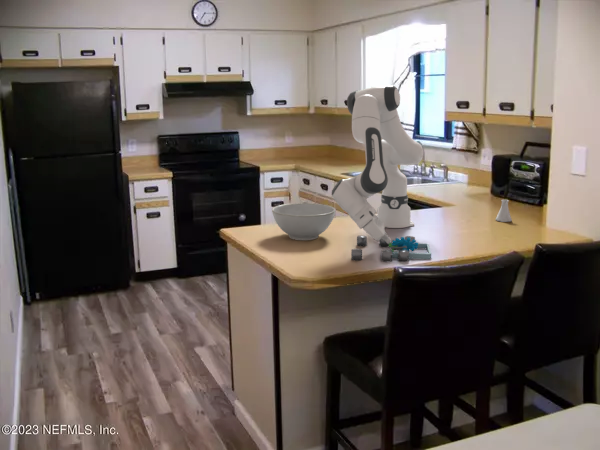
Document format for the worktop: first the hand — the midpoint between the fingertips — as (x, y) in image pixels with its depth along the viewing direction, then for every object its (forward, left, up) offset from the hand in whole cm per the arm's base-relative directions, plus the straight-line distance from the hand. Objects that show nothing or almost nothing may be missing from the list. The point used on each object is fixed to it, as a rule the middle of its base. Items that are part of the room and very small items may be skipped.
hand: (390, 241), depth 235 cm
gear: (0, +5, -5) cm, 7 cm away
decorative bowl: (-22, -36, -5) cm, 42 cm away
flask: (-67, +54, -5) cm, 86 cm away
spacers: (-2, -2, -5) cm, 5 cm away
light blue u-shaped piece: (-2, +7, -5) cm, 9 cm away
